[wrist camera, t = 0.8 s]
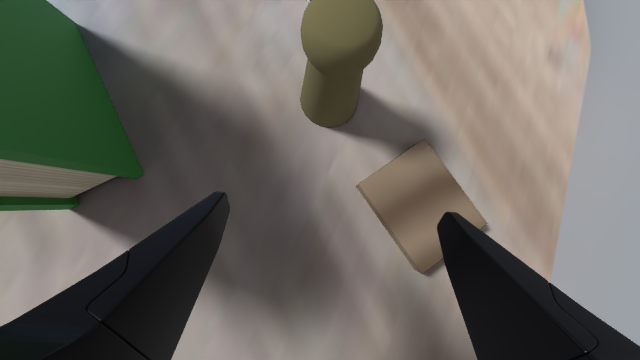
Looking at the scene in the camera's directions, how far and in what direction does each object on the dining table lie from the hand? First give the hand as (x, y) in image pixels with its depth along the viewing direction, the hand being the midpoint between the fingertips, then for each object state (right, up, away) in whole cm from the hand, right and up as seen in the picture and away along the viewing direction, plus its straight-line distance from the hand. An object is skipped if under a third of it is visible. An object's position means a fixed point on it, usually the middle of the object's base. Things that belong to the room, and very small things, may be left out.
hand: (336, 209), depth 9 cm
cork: (0, +10, +15) cm, 18 cm away
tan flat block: (+9, -1, +14) cm, 16 cm away
